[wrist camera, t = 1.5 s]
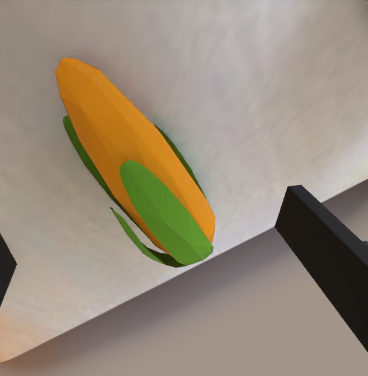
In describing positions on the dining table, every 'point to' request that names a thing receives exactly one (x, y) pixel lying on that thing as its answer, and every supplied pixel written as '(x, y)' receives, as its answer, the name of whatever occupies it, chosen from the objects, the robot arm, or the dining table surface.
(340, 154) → the dining table surface
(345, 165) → the dining table surface
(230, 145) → the dining table surface
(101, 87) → the corn
